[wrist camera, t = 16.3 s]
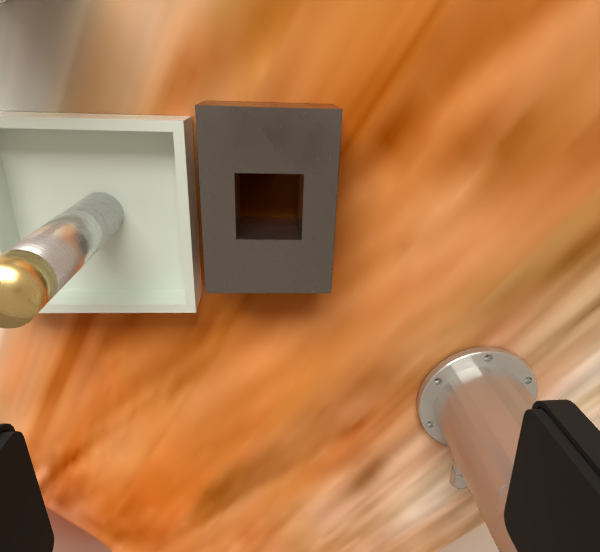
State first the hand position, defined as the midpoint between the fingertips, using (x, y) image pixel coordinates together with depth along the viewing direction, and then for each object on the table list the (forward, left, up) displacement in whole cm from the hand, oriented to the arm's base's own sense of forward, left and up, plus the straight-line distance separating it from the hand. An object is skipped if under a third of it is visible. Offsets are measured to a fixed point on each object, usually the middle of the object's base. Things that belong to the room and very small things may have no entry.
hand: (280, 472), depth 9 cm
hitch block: (-2, 0, -33) cm, 33 cm away
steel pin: (-4, +14, -32) cm, 35 cm away
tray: (-4, +14, -33) cm, 36 cm away
